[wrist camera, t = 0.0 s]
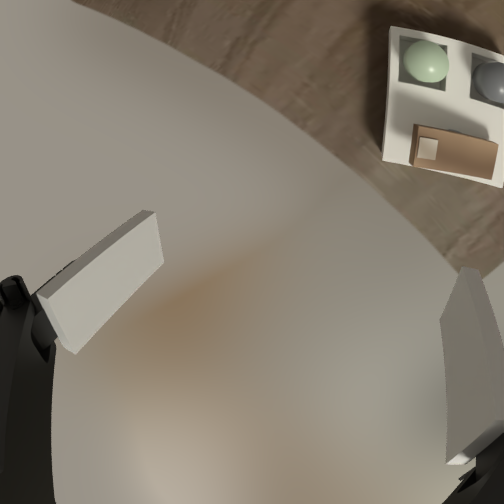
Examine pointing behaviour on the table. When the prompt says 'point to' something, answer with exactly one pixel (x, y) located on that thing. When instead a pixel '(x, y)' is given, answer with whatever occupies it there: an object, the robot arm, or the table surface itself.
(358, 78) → the table surface
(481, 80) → the button graphite
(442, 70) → the button sage
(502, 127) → the panel
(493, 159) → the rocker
